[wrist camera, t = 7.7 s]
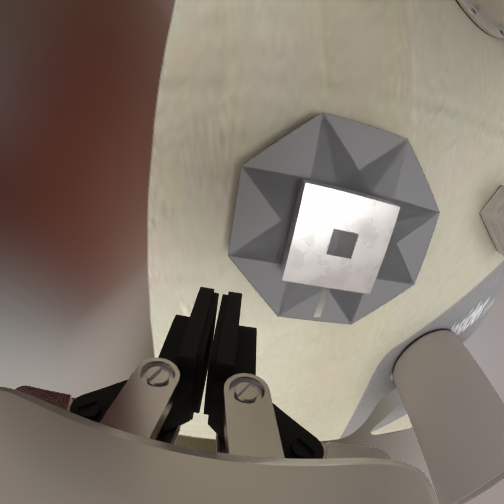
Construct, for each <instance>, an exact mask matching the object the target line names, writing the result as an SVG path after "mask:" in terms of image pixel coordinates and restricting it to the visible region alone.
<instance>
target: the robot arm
mask: <svg viewBox="0 0 504 504" xmlns="http://www.w3.org/2000/svg"><path fill="white" fill-rule="evenodd" d="M457 1H458V2H459V4H460V5H461V7H462V8H463V9H464V11H465V12H466V13H467V14H468V16H469V17H470V18H471V19H472V20H473V21H474V22H475V23H476V24H477V25H478V26H479V27H480V28H481V29H483V30H484V31H485V32H486V33H488V34H490V35H491V36H493V37H495V38H499V39H504V0H457ZM218 296H219V293H214V289H211V288H205V287H200V290H199V293H198V296H197V298H196V301H195V304H194V307H193V310H192V313H191V316H190V317H187V316H181V315H176V316H175V318H174V320H173V323H172V325H171V328H170V330H169V332H168V335H167V337H166V340H165V342H164V345H163V347H162V350H161V352H160V355H159V357H158V358H150V359H146V360H145V361H143V362H141V363H140V364H139V365H138V366H137V368H136V369H135V371H134V372H133V373H132V375H131V376H130V378H129V379H128V380H126V381H123V382H120V383H117V384H114V385H111V386H109V387H105V388H102V389H100V390H96V391H93V392H90V393H87V394H84V395H81V396H80V397H77V398H72V396H71V395H69V394H64V393H59V392H54V391H49V390H44V389H40V388H35V387H31V386H21V387H18V388H17V389H15V390H14V389H11V388H6V387H0V504H439V503H438V500H437V497H436V494H435V492H434V490H433V487H432V485H431V483H430V481H429V480H428V478H427V477H426V475H425V474H424V473H423V472H422V471H421V470H420V469H418V468H417V467H414V466H412V465H410V464H407V463H404V462H399V461H395V460H391V458H390V457H389V455H388V454H387V453H386V452H385V451H383V450H380V449H377V448H369V447H361V446H354V445H346V444H340V443H335V442H328V444H325V443H321V442H320V441H319V440H318V439H317V438H316V437H315V436H313V435H312V434H311V433H309V432H308V431H307V430H306V429H304V428H303V427H302V426H300V425H299V424H298V423H297V422H295V421H294V420H293V419H292V418H290V417H289V416H288V415H287V414H285V413H284V412H283V411H282V410H280V409H279V408H278V407H277V406H276V405H274V404H273V403H272V399H271V394H270V390H269V387H268V385H267V384H266V382H265V381H264V380H263V379H261V378H260V377H258V376H256V336H257V329H256V328H252V327H245V326H239V318H240V309H241V299H242V294H241V293H235V292H229V293H228V295H225V294H223V296H222V301H221V305H220V310H219V315H218V320H217V324H216V329H215V334H214V328H215V320H216V312H217V304H218ZM213 337H214V339H213ZM207 371H208V374H207ZM206 376H207V384H206V394H205V405H204V414H207V415H209V418H208V425H209V426H210V427H211V428H212V429H213V430H214V431H215V432H216V448H217V452H212V451H205V450H200V449H194V448H188V447H184V446H179V445H174V442H175V440H176V438H177V436H178V433H179V431H180V427H181V425H182V424H184V423H186V422H188V421H190V419H191V420H192V419H193V414H194V412H196V413H199V412H200V407H201V401H202V396H203V391H204V386H205V381H206Z"/></svg>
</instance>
